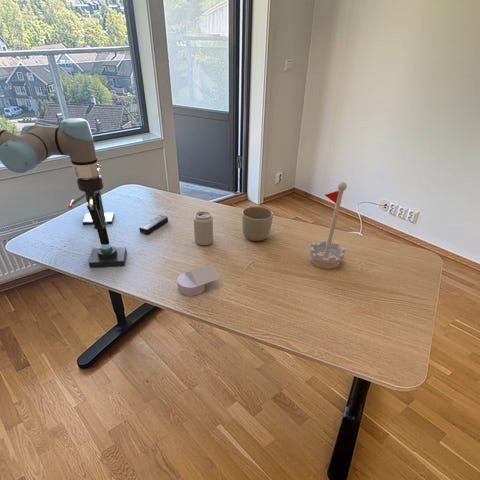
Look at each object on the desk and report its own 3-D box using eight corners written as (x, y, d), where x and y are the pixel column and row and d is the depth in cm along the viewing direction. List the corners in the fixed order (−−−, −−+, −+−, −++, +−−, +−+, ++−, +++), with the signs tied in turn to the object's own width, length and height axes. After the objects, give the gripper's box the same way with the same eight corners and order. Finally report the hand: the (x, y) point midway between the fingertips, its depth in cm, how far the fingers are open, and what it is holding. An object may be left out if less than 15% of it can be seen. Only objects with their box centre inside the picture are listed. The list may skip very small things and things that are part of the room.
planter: (264, 229, 151) (267, 205, 144) (274, 242, 142) (277, 218, 135) (237, 231, 148) (238, 207, 141) (245, 246, 139) (247, 220, 132)
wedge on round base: (206, 273, 123) (173, 285, 117) (206, 257, 119) (171, 268, 113) (219, 286, 118) (186, 299, 112) (220, 270, 113) (184, 282, 107)
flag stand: (343, 255, 136) (364, 178, 117) (340, 273, 127) (362, 192, 107) (310, 249, 139) (325, 173, 119) (305, 266, 130) (320, 185, 110)
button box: (89, 268, 123) (87, 258, 120) (94, 253, 130) (91, 244, 128) (124, 266, 125) (122, 256, 122) (126, 252, 132) (124, 242, 130)
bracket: (82, 224, 147) (73, 190, 138) (86, 215, 154) (77, 182, 144) (112, 223, 149) (104, 189, 139) (114, 214, 156) (107, 181, 146)
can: (208, 236, 144) (207, 208, 136) (216, 244, 139) (216, 215, 132) (191, 239, 141) (190, 211, 133) (199, 248, 136) (198, 219, 129)
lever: (71, 210, 144) (66, 205, 142) (73, 204, 148) (69, 199, 147) (95, 193, 141) (91, 188, 140) (97, 188, 146) (93, 183, 144)
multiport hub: (168, 221, 153) (168, 216, 151) (148, 235, 143) (147, 230, 141) (160, 219, 154) (159, 214, 153) (139, 232, 144) (138, 227, 143)
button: (101, 253, 124) (99, 249, 123) (102, 248, 126) (101, 244, 125) (111, 253, 124) (110, 249, 123) (112, 248, 127) (111, 244, 126)
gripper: (98, 183, 103) (114, 252, 119) (103, 168, 113) (117, 234, 129) (71, 183, 102) (91, 253, 118) (79, 169, 112) (96, 235, 128)
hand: (105, 243), depth 123 cm, fingers closed
